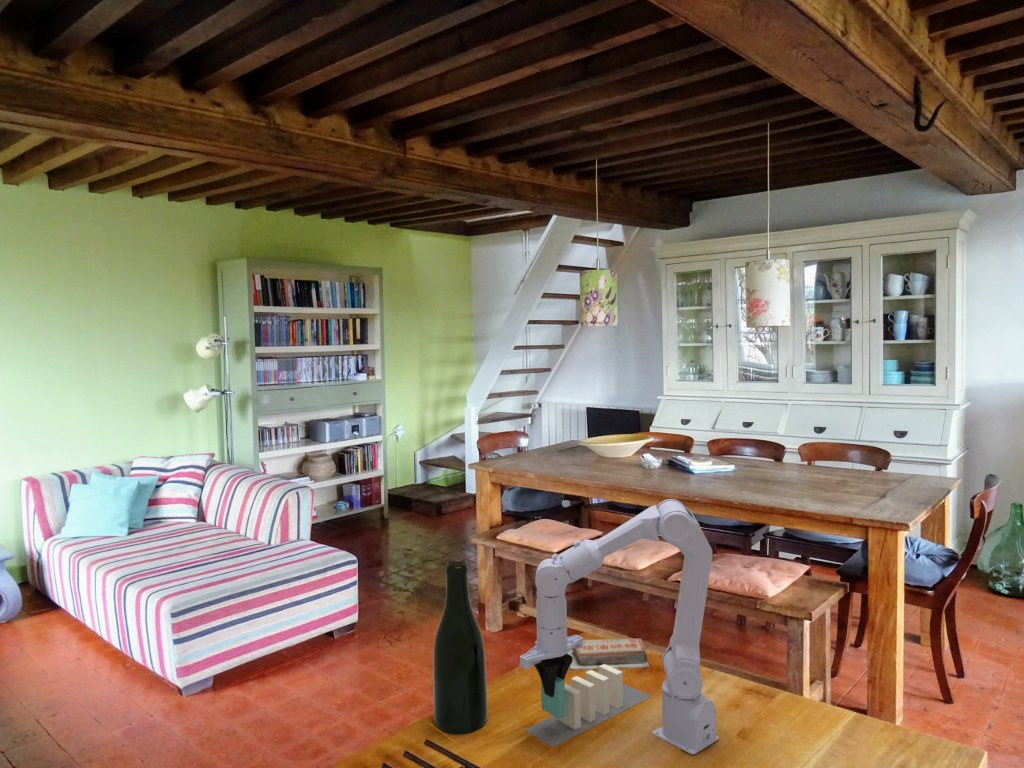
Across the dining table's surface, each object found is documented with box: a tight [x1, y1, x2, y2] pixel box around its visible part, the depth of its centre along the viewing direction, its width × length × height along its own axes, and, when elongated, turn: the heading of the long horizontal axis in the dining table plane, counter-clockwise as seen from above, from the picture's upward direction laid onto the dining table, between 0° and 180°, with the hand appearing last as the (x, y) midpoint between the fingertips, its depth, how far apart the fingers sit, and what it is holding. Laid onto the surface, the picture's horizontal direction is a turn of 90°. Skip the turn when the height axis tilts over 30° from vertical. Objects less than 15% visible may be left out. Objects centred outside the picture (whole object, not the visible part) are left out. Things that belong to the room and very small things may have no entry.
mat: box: [524, 683, 652, 748], centre depth 148 cm, size 8×28×1 cm, turn 130°
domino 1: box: [540, 676, 566, 719], centre depth 141 cm, size 2×5×7 cm, turn 38°
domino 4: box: [584, 670, 609, 715], centre depth 149 cm, size 2×5×7 cm, turn 39°
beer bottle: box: [432, 555, 488, 735], centre depth 145 cm, size 10×10×33 cm
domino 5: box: [598, 664, 624, 708], centre depth 152 cm, size 2×5×7 cm, turn 40°
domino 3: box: [570, 675, 595, 722], centre depth 146 cm, size 2×5×7 cm, turn 40°
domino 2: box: [557, 683, 581, 729], centre depth 144 cm, size 2×5×7 cm, turn 40°
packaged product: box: [567, 637, 651, 671], centre depth 172 cm, size 18×5×10 cm
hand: (552, 693), depth 141 cm, fingers closed on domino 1, 1 cm apart
